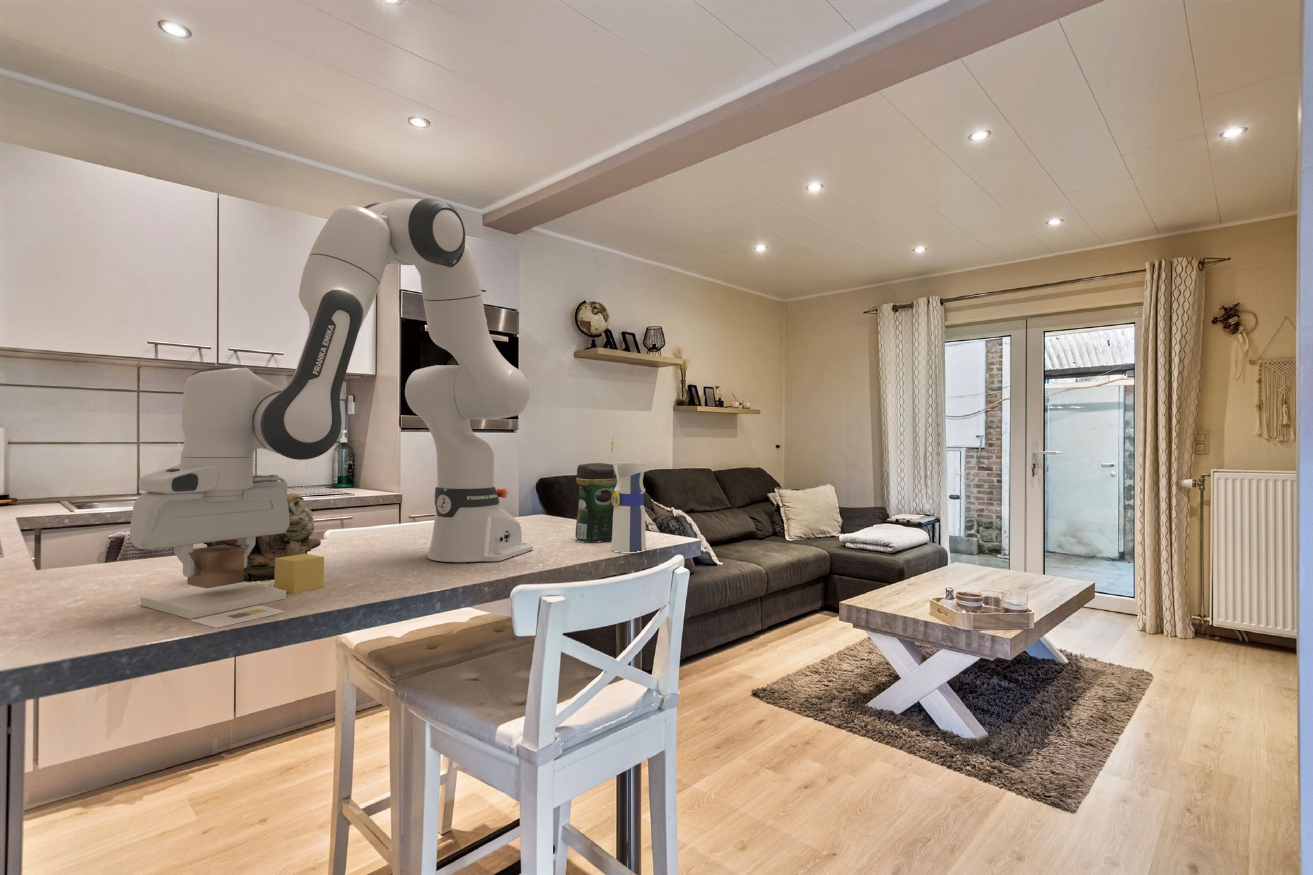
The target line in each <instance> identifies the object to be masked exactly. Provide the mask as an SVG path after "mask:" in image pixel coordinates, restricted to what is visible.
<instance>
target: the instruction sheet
mask: <svg viewBox="0 0 1313 875" xmlns="http://www.w3.org/2000/svg"><path fill="white" fill-rule="evenodd" d="M283 613H286V611H285V610H281V609H277V608H272V607H270V606H269V607H268V606H265V605H262V604H258V605H253V606H249V607H244V608H239V609H235V610H230V611H225V612H221V613H216V614H212V615H207V616H202V617H198V618H193V619H190V622H192V623H196V624H199V625H204V626H207V627H211V628H214V629H219V628H222V627H223V628H224V627H227V626H232V625H236V624H240V623H245V622H249V621H254V620H257V619H262V618H267V617H269V616H270V617H271V616H275V615H277V614H283Z"/></svg>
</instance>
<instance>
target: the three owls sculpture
mask: <svg viewBox="0 0 1313 875" xmlns="http://www.w3.org/2000/svg"><path fill="white" fill-rule="evenodd" d="M287 502H288V509H289V527H288V529H287V530H286V532H285V533H282V534H274V535H265V536H257V537H256V542H255V546H254V547H253V549H252V551H251V552H250V554H249V555H248V556H247V567H246V568H244V582H248V581H249V574H250V575H251V577H250V580H251V581H254V582H262V581H271V580H273V581H274V580H275V558H280V557H287V556H293V555H300V554H308V552H311V551H312V550H314V549H317V548H318V547H320V546H321V545H322V544H321V543H322V541H321V539H320V538H310V537H311V535H312V534H313V532H314V531H315V522H314V517H313V511H312V510H311V509H310V508H308V507H307V506H306V502H305V500H304V498H303V496H302V495H301V494H299V493H296V492H295V493H294V492H291V493H287ZM202 544H203V545H206V547H212V546H220V545H229V546H235V547H241V545H242V544H239V543H238V539H233V540H224V541H216V542H208V543H202Z"/></svg>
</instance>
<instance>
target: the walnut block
mask: <svg viewBox="0 0 1313 875" xmlns="http://www.w3.org/2000/svg"><path fill="white" fill-rule="evenodd" d="M188 554H189V555H190V557H191V558H192V560H193V562H197V563H201V568H200V571H201V573H200V575H197V576H192V577H187V585H189V586H194V587H202V588H207V589H208V588H213V587H219V586H224V585H230V584H235V583H241V582H244V548H241V547H235V546H229V545H220V546H212V547H207V546H205V547H198V548H197V547H196V548H193V552H190V553H189V552H188Z"/></svg>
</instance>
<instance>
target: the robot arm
mask: <svg viewBox="0 0 1313 875" xmlns="http://www.w3.org/2000/svg"><path fill="white" fill-rule="evenodd" d="M466 236H467V235H466V229H465V226H464V222H463V220H462V218H461V216H460V214H459V212H458V211H457V210H456V208H455V207H454V206H452V204H451V203H449V202H446V201H443V200H440V199H436V198H431V197H430V198H423V199H421V198H420V199H419V198H399V199H398V198H397V199H395V200H391V201H385V202H374V203H371V204H368V205H365V206H359V205H353V204H352V205H351V204H350V205H343V206H340V207H338V208H337V209H335V210H334V211H333V212H332V214H331V215H330V217H329V218H328V219H327V221H326V222H325V223H324V226H323V227H322V228H321V230H320V232H319V234H318V235H317V237H316V240H315V241H314V243H313V245H312V247H311V250H310V252H309V254H308V257H307V259H306V262H305V265H304V267H303V271H302V275H301V279H300V284H299V290H298V291H299V292H298V299H299V302H300V304H301V306H302V307H303V309H304V310H305V311H306V313H307V317H308V321H309V328H308V333H307V335H306V336H307V337H306V340H305V342H304V346H303V348H302V351H301V353H300V357H299V359H298V362H297V365H296V369H295V370H294V371H295V372H294V374H293V377H292V378H291V380H290V382H289V384H288V385H287V386H286V387H285V388H282V387H280V386H278V385H275V384H273V383H271V382H269V381H267V379H264V378H262V377H260V376H258V375H257V374H255V373H254V372H252V370H251V369H250V368H248V367H246V366H241V365H226V366H225V365H224V366H221V365H220V366H213V367H208V368H201V369H199V370H197V371H195V372H194V373H192V374H191V375H190V376H189V377H188V378H187V379H186V381H185V386H184V389H183V394H182V395H183V396H182V405H181V407H182V408H181V430H182V432H183V435H184V436H183V437H184V442H183V447H182V450H181V452H180V464H178V465H174V466H171V467H168V468H164V469H162V470H158V471H155V472H151V473H148V474H145V475H142V476H141V477H139V479H138V488H139V490H140V491H142V492H144V493H142V494H141V495H139V496H138V497H137V498H136V500H135V501H134V503H133V507H132V511H131V512H132V513H131V518H130V526H129V540H130V543H132V545H133V546H134V547H135V548H138V549H140V550H141V549H142V550H148V551H149V550H158V549H166V548H172V547H173V553H174V555H175V557H177V559H178V560H179V562H180V563H181V564H182V576H183V577H187V578H188V577H192V576H197V575H200V573H201V571H200V568H201V563H197V562H193V560H192V558H191V557H190V555H189V554H188V552H189V553H190V552H193V549H194V545H199V544H203V543H208V542H216V541H224V540H233V539H238V543H239V544H242V545H241V548H244V568H246V567H247V556H248V555H249V554H250V552H251V551H252V549H253V547H254V546H255V542H256V537H257V536H265V535H274V534H282V533H285V532H286V530H287V529H288V527H289V509H288V502H287V494H288V483H287V482H286V481H285V479H284V478H282V477H280V476H279V475H277V474H268V475H258V474H257V475H254V461H255V460H254V457H255V456H254V453H255V451H256V450H259V449H262V450H267V451H269V452H272V453H275V454H277V455H278V454H279V455H281V456H283V457H285V458H288V459H292V460H297V461H298V460H299V461H304V460H311V459H315V458H318V457H320V456H322V455H324V454H325V453H327V452H328V451H330V449H332V448H333V447H334V446H335V444H336V443H337V441H338V439H339V437H340V434H341V431H342V423H343V422H342V420H343V419H342V411H341V393H342V386H343V384H344V381H345V377H346V373H347V371H348V367H349V364H350V361H351V358H352V355H353V352H354V348H355V346H356V342H357V338H358V334H359V332H360V330H361V328H362V326H363V324H364V321H365V320H366V317H367V315H368V313H369V311H370V310H371V307H372V305H373V303H374V301H375V298H376V297H377V294H378V291H379V289H380V286H381V282H382V281H383V277H384V273H385V269H386V267H387V266H388V265H390V264H392V265H399V266H415V268H416V270H417V272H418V273H419V275H420V276H419V277H420V286H421V295H422V300H423V307H424V313H425V318H426V325H427V330H428V334H429V338H430V339H431V341H432V342H433V343H434V344H435V345H437V346H438V347H439V348H441V349H443V350H445V351H447V352H448V353H450V354H451V355H452V356H453V358H454V359H455V360H456V362H457V364H458V365H456V364H451V365H447V364H446V365H442V364H441V365H438V364H436V365H431V366H426V367H423V368H418V369H416V370H414V371H412V372H411V374H410V375H409V376H408V378H407V381H406V383H405V389H404V396H405V400H406V403H407V405H408V407H409V409H411V411H412V412H413V413H414V414H416V416H418V417H419V418H420V419H421V421H423V422H424V424H425V425H426V427H427V428H428V430H429V432H430V434H431V436H432V439H433V442H434V446H435V451H436V464H437V465H436V468H437V469H436V470H437V472H436V473H437V480H436V481H437V482H436V483H437V484H436V487H435V488H434V496H433V497H434V505H435V516H434V521H433V528H432V536H431V541H430V546H429V549H428V554H427V556H426V557H427V558H428V559H429V560H431V561H437V562H438V561H439V562H445V563H447V562H448V563H468V562H469V563H473V562H474V563H475V562H500V561H503V560H507V559H510V558H513V557H516V556H519V555H522V554H525V553H528V552H530V550H531V551H533V550H534V549H533V548H534V547H533V545H532V544H530V543H525V542H523V541H522V539H523V538H522V527H521V524H520V522H519V521H518V520H517V519H516V518H515V517H514V516H513V515H511V514H510V513H509V512H508V511H507V510H506V509H505V508H503V507H502V506H501V504H500V499H499V498H502V499H506V498H508V496H509V490H508V488H498V487H497V489H496V487H495V486H494V483H495V481H494V477H495V476H494V475H495V452H494V451H493V450H494V449H493V448H492V447H491V445H490V444H489V443H488V442H487V441H485V440H483V439H482V438H480V437H478V435H477V436H476V435H475V433H474V432H473V429H472V427H471V422H470V420H502V419H507V418H511V417H517V416H519V415H520V414H522V412H524V410H525V409H526V407H527V405H528V403H529V400H530V385H529V382H528V380H527V378H526V376H525V375H524V374H523V372H522V371H521V370H520V369H518V368H517V367H515V366H514V365H512V364H511V363H510V362H509V361H508V360H507V359H506V358H505V357H504V356H503V355H502V354H501V352H500V351H499V349H498V348H497V347H496V344H495V343H494V341H493V339H492V336H491V335H490V331H489V327H488V323H487V318H486V312H485V308H484V307H485V306H484V300H483V294H482V287H481V281H480V276H479V272H478V269H477V265H476V262H475V258H474V256H473V253H472V249H471V248H470V245H468V243H467V242H466ZM512 556H513V557H512Z"/></svg>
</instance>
